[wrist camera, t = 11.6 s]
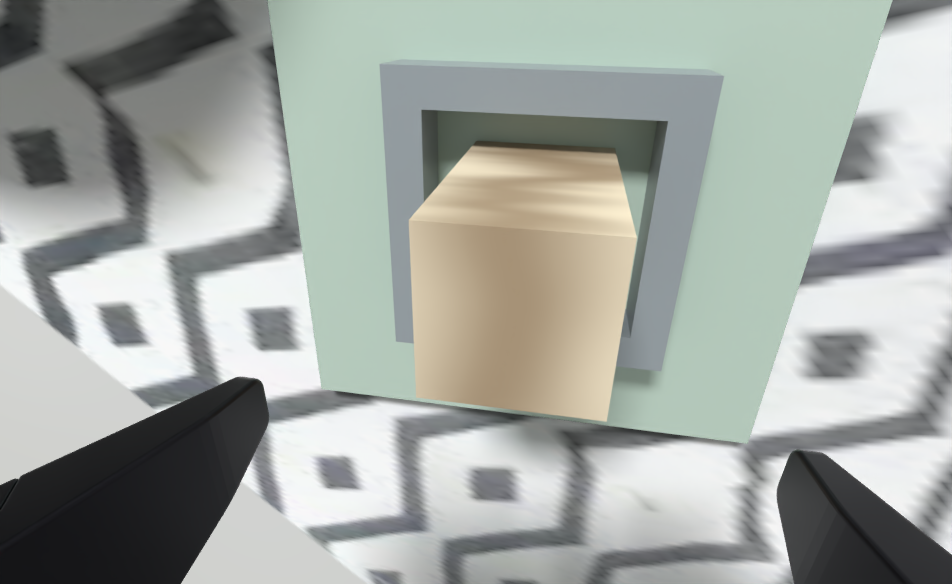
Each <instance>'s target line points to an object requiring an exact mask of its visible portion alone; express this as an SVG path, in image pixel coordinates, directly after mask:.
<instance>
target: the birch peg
mask: <svg viewBox="0 0 952 584" xmlns="http://www.w3.org/2000/svg"><path fill="white" fill-rule="evenodd" d="M409 239H410V263H411V287H412V311H413V335H414V358H415V382H416V398H424V399H432V400H440V401H448V402H456V403H464V404H471V405H479V406H487V407H495V408H503V409H511V410H519V411H527V412H534V413H542V414H550V415H558V416H566V417H574V418H582V419H589V420H597V421H605V422H607V417H608V411H609V404H610V398H611V392H612V386H613V380H614V374H615V368H616V362H617V356H618V350H619V344H620V338H621V332H622V326H623V319H624V313H625V307H626V301H627V295H628V289H629V283H630V277H631V271H632V265H633V259H634V253H635V247H636V241H637V236H636V232H635V228H634V224H633V220H632V216H631V212H630V208H629V204H628V199H627V195H626V191H625V187H624V183H623V179H622V175H621V171H620V167H619V163H618V159H617V155H616V151H615V148H603V147H585V146H566V145H548V144H529V143H511V142H492V141H476V142H475V143H474V144H473V146H472V147H471V148H470V149H469V150H468V151H467V153H466V154H465V155H464V156H463V157H462V158H461V160H460V161H459V162H458V163H457V164H456V165H455V167H454V168H453V169H452V170H451V171H450V172H449V174H448V175H447V176H446V177H445V178H444V179H443V181H442V182H441V183H440V184H439V185H438V186H437V188H436V189H435V190H434V191H433V192H432V193H431V195H430V196H429V197H428V198H427V199H426V200H425V202H424V203H423V204H422V205H421V206H420V207H419V209H418V210H417V211H416V212H415V213H414V214H413V216H412V217H411V218H410V219H409Z"/></svg>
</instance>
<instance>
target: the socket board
mask: <svg viewBox="0 0 952 584" xmlns="http://www.w3.org/2000/svg"><path fill="white" fill-rule="evenodd" d="M267 2H268V9H269V16H270V24H271V31H272V38H273V45H274V52H275V59H276V66H277V73H278V81H279V88H280V95H281V102H282V109H283V116H284V123H285V130H286V138H287V145H288V152H289V159H290V166H291V173H292V180H293V187H294V195H295V202H296V209H297V216H298V223H299V230H300V237H301V244H302V252H303V259H304V266H305V273H306V280H307V287H308V294H309V302H310V309H311V316H312V323H313V330H314V337H315V344H316V351H317V359H318V366H319V373H320V380H321V387H322V389H326V390H334V391H342V392H350V393H357V394H365V395H373V396H381V397H388V398H396V399H404V400H412V401H420V402H427V403H435V404H443V405H451V406H458V407H466V408H474V409H482V410H489V411H497V412H505V413H513V414H521V415H528V416H536V417H544V418H552V419H559V420H567V421H575V422H583V423H591V424H598V425H606V426H614V427H622V428H629V429H637V430H645V431H653V432H661V433H668V434H676V435H684V436H692V437H699V438H707V439H715V440H723V441H730V442H738V443H746V444H748V441H749V438H750V434H751V431H752V428H753V425H754V422H755V419H756V416H757V413H758V410H759V407H760V404H761V401H762V398H763V395H764V392H765V389H766V386H767V383H768V379H769V376H770V373H771V370H772V367H773V364H774V361H775V358H776V355H777V352H778V349H779V346H780V343H781V340H782V337H783V334H784V331H785V327H786V324H787V321H788V318H789V315H790V312H791V309H792V306H793V303H794V300H795V297H796V294H797V291H798V288H799V285H800V282H801V279H802V275H803V272H804V269H805V266H806V263H807V260H808V257H809V254H810V251H811V248H812V245H813V242H814V239H815V236H816V233H817V230H818V227H819V223H820V220H821V217H822V214H823V211H824V208H825V205H826V202H827V199H828V196H829V193H830V190H831V187H832V184H833V181H834V178H835V175H836V171H837V168H838V165H839V162H840V159H841V156H842V153H843V150H844V147H845V144H846V141H847V138H848V135H849V132H850V129H851V126H852V123H853V119H854V116H855V113H856V110H857V107H858V104H859V101H860V98H861V95H862V92H863V89H864V86H865V83H866V80H867V77H868V74H869V71H870V68H871V64H872V61H873V58H874V55H875V52H876V49H877V46H878V43H879V40H880V37H881V34H882V31H883V28H884V25H885V22H886V19H887V16H888V12H889V9H890V6H891V3H892V0H267ZM476 141H492V142H511V143H529V144H548V145H566V146H585V147H603V148H615V151H616V155H617V159H618V163H619V167H620V171H621V175H622V179H623V183H624V187H625V191H626V195H627V199H628V204H629V208H630V212H631V216H632V220H633V224H634V228H635V232H636V236H637V241H636V247H635V253H634V259H633V265H632V271H631V277H630V283H629V289H628V295H627V301H626V307H625V313H624V319H623V326H622V332H621V338H620V344H619V350H618V356H617V362H616V368H615V374H614V380H613V386H612V392H611V398H610V404H609V411H608V417H607V422H605V421H597V420H589V419H582V418H574V417H566V416H558V415H550V414H542V413H534V412H527V411H519V410H511V409H503V408H495V407H487V406H479V405H471V404H464V403H456V402H448V401H440V400H432V399H424V398H416V382H415V358H414V335H413V311H412V287H411V263H410V239H409V219H410V218H411V217H412V216H413V214H414V213H415V212H416V211H417V210H418V209H419V207H420V206H421V205H422V204H423V203H424V202H425V200H426V199H427V198H428V197H429V196H430V195H431V193H432V192H433V191H434V190H435V189H436V188H437V186H438V185H439V184H440V183H441V182H442V181H443V179H444V178H445V177H446V176H447V175H448V174H449V172H450V171H451V170H452V169H453V168H454V167H455V165H456V164H457V163H458V162H459V161H460V160H461V158H462V157H463V156H464V155H465V154H466V153H467V151H468V150H469V149H470V148H471V147H472V146H473V144H474V143H475V142H476Z"/></svg>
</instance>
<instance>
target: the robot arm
mask: <svg viewBox="0 0 952 584" xmlns="http://www.w3.org/2000/svg"><path fill="white" fill-rule="evenodd" d="M268 422H269V412H268V407H267V402H266V397H265V392H264V387H263V384H262V382H261V381H260V380H258V379H255V378H248V377H236V378H233V379H231V380H229V381H227V382H225V383H222V384H220V385H218V386H216V387H214V388H211V389H209V390H207V391H205V392H203V393H201V394H198V395H196V396H194V397H192V398H190V399H187V400H185V401H183V402H181V403H179V404H177V405H174V406H172V407H170V408H168V409H166V410H163V411H161V412H159V413H157V414H155V415H153V416H150V417H148V418H146V419H144V420H142V421H139V422H137V423H135V424H133V425H131V426H129V427H126V428H124V429H122V430H120V431H118V432H116V433H113V434H111V435H109V436H107V437H105V438H102V439H100V440H98V441H96V442H94V443H91V444H89V445H87V446H85V447H83V448H81V449H78V450H76V451H74V452H72V453H70V454H67V455H65V456H63V457H61V458H59V459H56V460H54V461H52V462H50V463H48V464H46V465H43V466H41V467H39V468H37V469H35V470H33V471H31V472H28V473H26V474H24V475H22V476H21V477H20V478H19V479H13V480H10V481H8V482H6V483H4V484H2V485H0V584H181V583H182V581H183V579H184V578H185V576H186V574H187V573H188V571H189V570H190V568H191V566H192V565H193V563H194V561H195V560H196V558H197V557H198V555H199V553H200V552H201V550H202V548H203V547H204V545H205V543H206V542H207V540H208V539H209V537H210V535H211V534H212V532H213V530H214V529H215V527H216V526H217V524H218V522H219V521H220V519H221V517H222V516H223V514H224V512H225V511H226V509H227V507H228V506H229V504H230V502H231V500H232V498H233V496H234V495H235V493H236V490H237V489H238V487H239V485H240V482H241V480H242V478H243V476H244V474H245V472H246V470H247V468H248V466H249V464H250V462H251V460H252V458H253V456H254V453H255V451H256V449H257V447H258V445H259V443H260V441H261V439H262V437H263V435H264V433H265V431H266V428H267V426H268ZM777 503H778V508H779V513H780V518H781V523H782V528H783V532H784V537H785V542H786V547H787V552H788V556H789V561H790V566H791V571H792V576H793V581H794V584H952V555H951V554H950V553H949V552H948V551H946V550H945V549H944V548H943V547H941V546H940V545H939V544H938V543H936V542H935V541H934V540H932V539H931V538H930V537H929V536H927V535H926V534H925V533H924V532H922V531H921V530H920V529H919V528H917V527H916V526H915V525H914V524H912V523H911V522H910V521H909V520H907V519H906V518H905V517H904V516H902V515H901V514H900V513H899V512H897V511H896V510H895V509H893V508H892V507H891V506H890V505H888V504H887V503H886V502H885V501H883V500H882V499H881V498H880V497H878V496H877V495H876V494H875V493H873V492H872V491H871V490H870V489H868V488H867V487H866V486H865V485H863V484H862V483H861V482H860V481H858V480H857V479H856V478H854V477H853V476H852V475H851V474H849V473H848V472H847V471H846V470H844V469H843V468H842V467H841V466H839V465H838V464H837V463H836V462H834V461H833V460H832V459H831V458H829V457H828V456H827V455H825V454H823V453H821V452H815V451H807V450H799V449H798V450H794V451H793V452H792V453H791V454H790V456H789V458H788V461H787V463H786V466H785V469H784V471H783V474H782V476H781V479H780V482H779V484H778V488H777Z"/></svg>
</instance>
